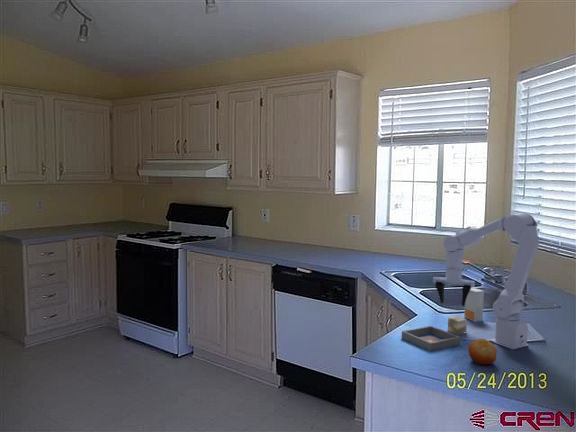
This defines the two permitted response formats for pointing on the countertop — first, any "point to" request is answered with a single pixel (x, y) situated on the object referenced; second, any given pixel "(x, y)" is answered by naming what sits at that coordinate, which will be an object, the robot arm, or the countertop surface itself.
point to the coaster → (430, 339)
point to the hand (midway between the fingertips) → (452, 303)
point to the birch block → (457, 325)
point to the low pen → (412, 337)
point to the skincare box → (474, 305)
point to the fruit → (482, 352)
